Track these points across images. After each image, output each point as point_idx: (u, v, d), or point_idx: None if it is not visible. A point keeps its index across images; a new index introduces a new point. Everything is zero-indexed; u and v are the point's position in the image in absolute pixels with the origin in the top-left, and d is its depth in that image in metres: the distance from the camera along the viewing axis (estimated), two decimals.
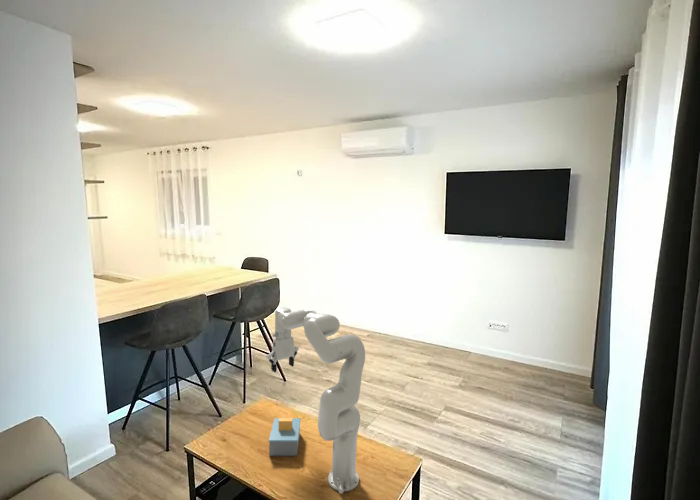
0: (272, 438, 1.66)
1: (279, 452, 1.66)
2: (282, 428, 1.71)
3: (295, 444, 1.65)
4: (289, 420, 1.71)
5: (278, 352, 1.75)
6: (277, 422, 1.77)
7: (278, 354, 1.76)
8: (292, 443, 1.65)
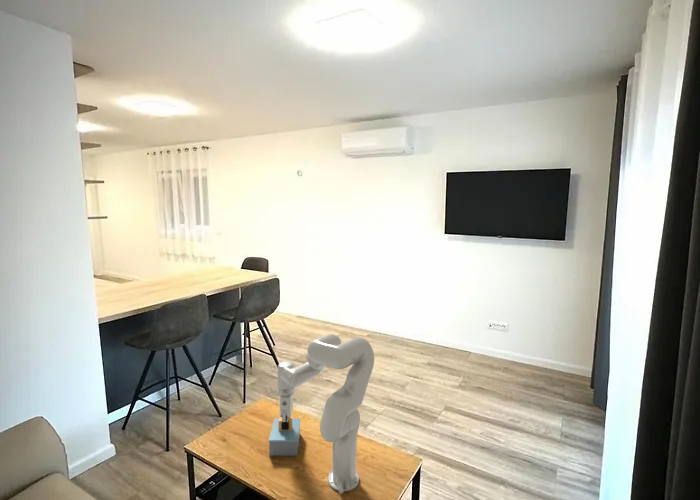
0: (272, 438, 1.66)
1: (279, 452, 1.66)
2: None
3: (295, 444, 1.65)
4: (289, 420, 1.71)
5: (290, 409, 1.67)
6: (277, 422, 1.77)
7: (290, 411, 1.67)
8: (292, 443, 1.65)
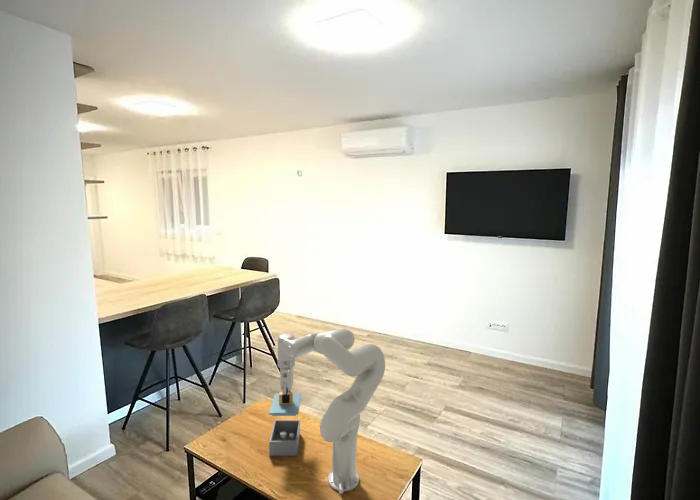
0: (272, 411, 1.64)
1: (279, 452, 1.66)
2: None
3: (295, 444, 1.65)
4: None
5: (291, 381, 1.65)
6: (278, 397, 1.75)
7: (291, 383, 1.65)
8: (292, 443, 1.65)
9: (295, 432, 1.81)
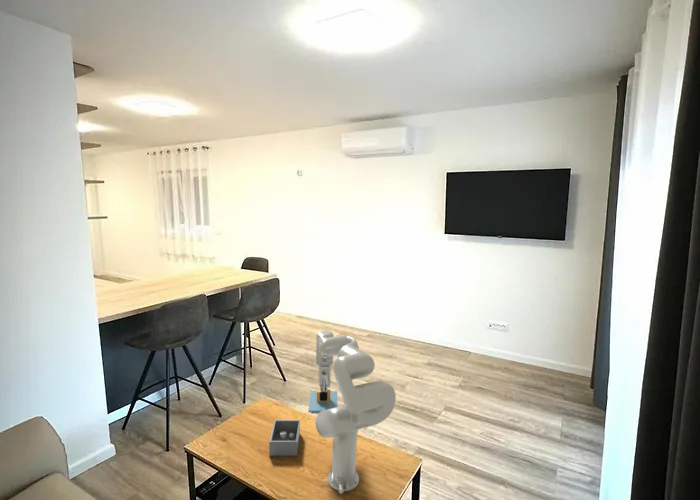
0: (311, 409, 1.62)
1: (279, 452, 1.66)
2: None
3: (295, 444, 1.65)
4: (327, 392, 1.68)
5: (329, 379, 1.64)
6: (314, 394, 1.74)
7: (329, 381, 1.64)
8: (292, 443, 1.65)
9: (295, 432, 1.81)
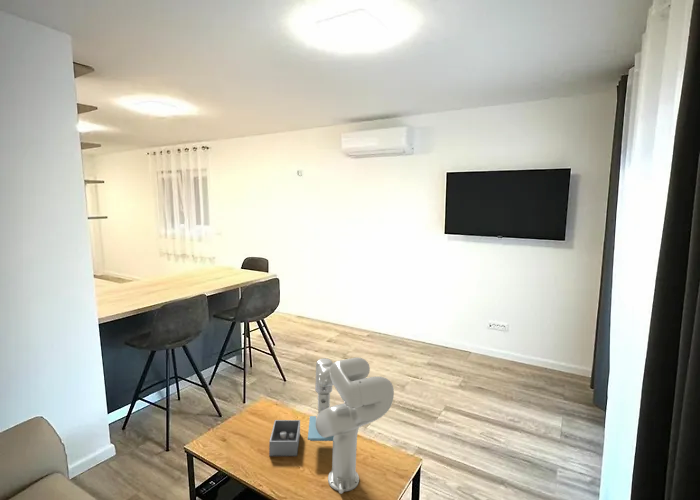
0: (311, 436, 1.64)
1: (279, 452, 1.66)
2: None
3: (295, 444, 1.65)
4: None
5: (329, 407, 1.66)
6: (313, 420, 1.76)
7: None
8: (292, 443, 1.65)
9: (295, 432, 1.81)
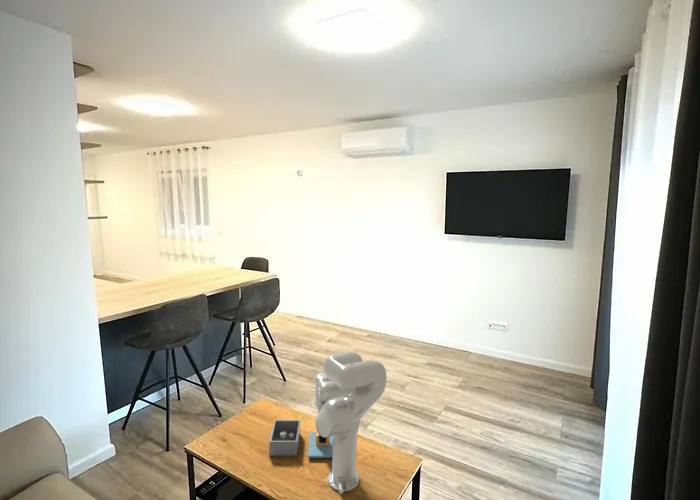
0: (311, 453, 1.65)
1: (279, 452, 1.66)
2: (319, 443, 1.71)
3: (295, 444, 1.65)
4: None
5: None
6: (313, 436, 1.77)
7: None
8: (292, 443, 1.65)
9: (295, 432, 1.81)
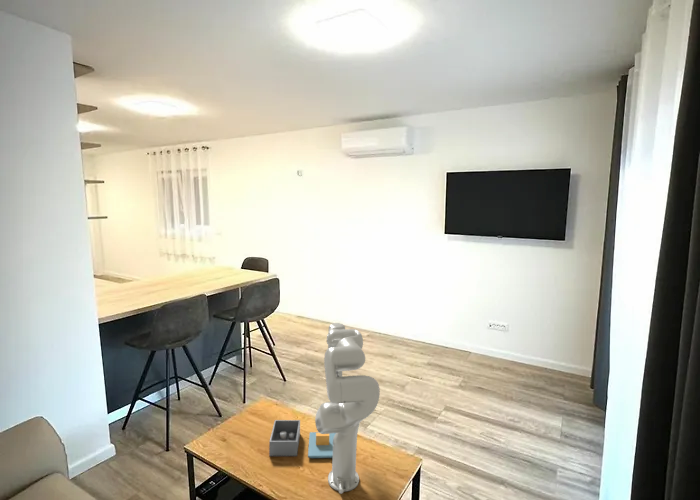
0: (311, 453, 1.65)
1: (279, 452, 1.66)
2: (319, 443, 1.71)
3: (295, 444, 1.65)
4: (326, 435, 1.71)
5: None
6: (313, 436, 1.77)
7: None
8: (292, 443, 1.65)
9: (295, 432, 1.81)
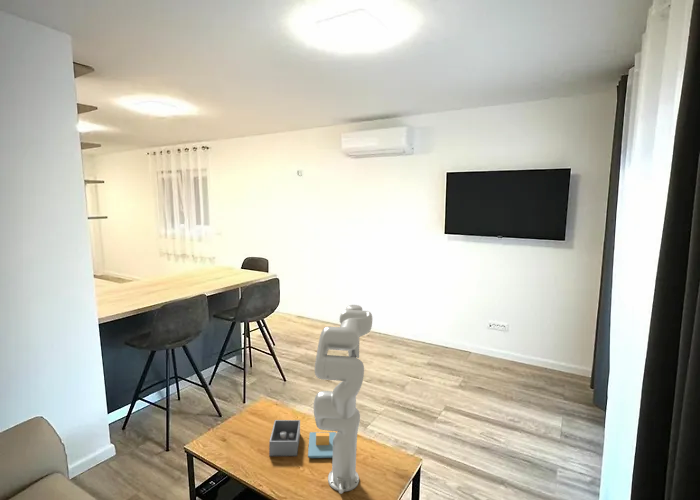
0: (311, 453, 1.65)
1: (279, 452, 1.66)
2: (319, 443, 1.71)
3: (295, 444, 1.65)
4: (326, 435, 1.71)
5: None
6: (313, 436, 1.77)
7: None
8: (292, 443, 1.65)
9: (295, 432, 1.81)
